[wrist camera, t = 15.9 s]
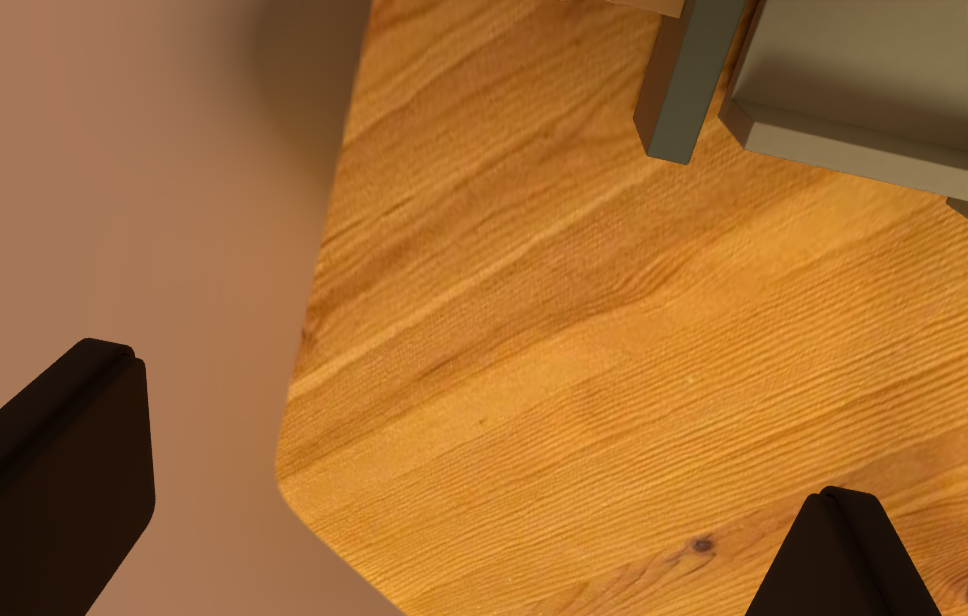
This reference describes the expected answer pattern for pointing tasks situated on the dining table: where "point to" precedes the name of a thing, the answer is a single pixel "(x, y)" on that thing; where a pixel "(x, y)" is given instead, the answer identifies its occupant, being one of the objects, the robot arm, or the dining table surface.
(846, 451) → the dining table surface
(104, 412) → the robot arm
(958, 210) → the cabinet
